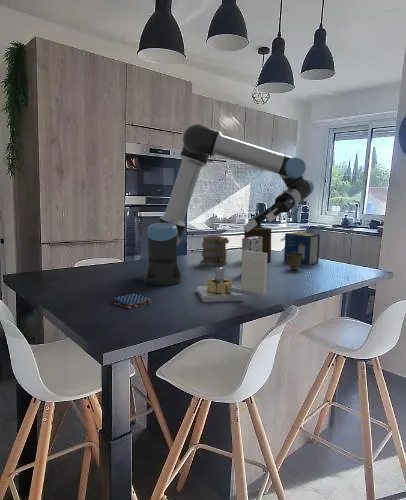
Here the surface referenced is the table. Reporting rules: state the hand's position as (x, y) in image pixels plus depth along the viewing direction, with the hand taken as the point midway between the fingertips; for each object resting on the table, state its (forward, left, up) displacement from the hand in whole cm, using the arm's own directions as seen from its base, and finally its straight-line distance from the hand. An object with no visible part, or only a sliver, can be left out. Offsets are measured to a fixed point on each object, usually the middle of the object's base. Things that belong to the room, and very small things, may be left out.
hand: (256, 224), depth 139 cm
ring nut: (-12, -16, -22) cm, 29 cm away
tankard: (-4, +48, -25) cm, 54 cm away
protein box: (+44, +53, -25) cm, 73 cm away
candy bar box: (+8, +28, -25) cm, 38 cm away
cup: (+31, +33, -25) cm, 51 cm away
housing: (-16, -10, -24) cm, 31 cm away
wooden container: (+21, +59, -25) cm, 67 cm away
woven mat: (-46, -14, -25) cm, 54 cm away
